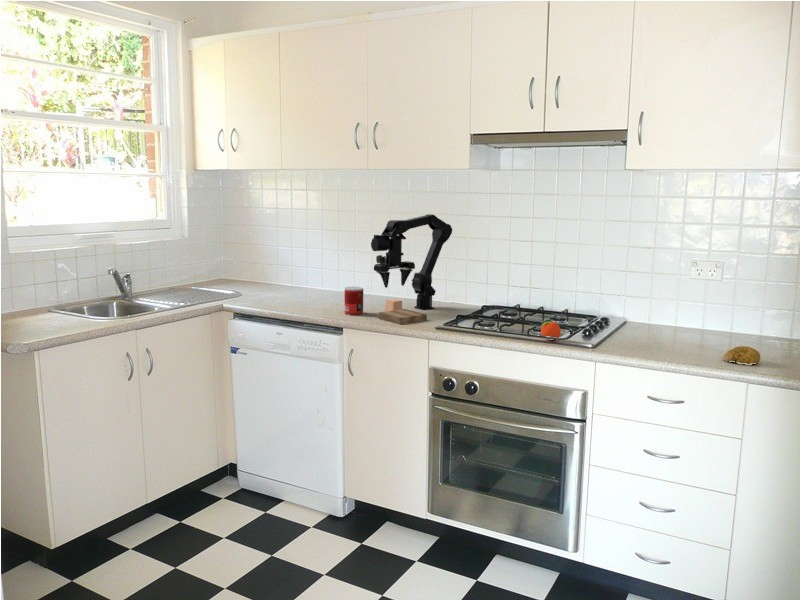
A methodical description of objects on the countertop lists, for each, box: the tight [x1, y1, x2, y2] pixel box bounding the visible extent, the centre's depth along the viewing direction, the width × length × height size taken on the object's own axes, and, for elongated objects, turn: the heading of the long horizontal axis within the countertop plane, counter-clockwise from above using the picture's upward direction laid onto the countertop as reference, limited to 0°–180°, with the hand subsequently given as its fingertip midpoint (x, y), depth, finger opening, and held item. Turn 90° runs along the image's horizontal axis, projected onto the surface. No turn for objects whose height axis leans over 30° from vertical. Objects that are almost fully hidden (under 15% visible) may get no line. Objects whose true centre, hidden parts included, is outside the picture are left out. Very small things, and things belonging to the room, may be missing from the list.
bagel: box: [722, 345, 761, 364], centre depth 216 cm, size 10×11×5 cm
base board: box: [377, 308, 428, 325], centre depth 272 cm, size 14×14×2 cm
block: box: [385, 298, 403, 312], centre depth 289 cm, size 5×5×5 cm
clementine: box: [539, 320, 562, 338], centre depth 240 cm, size 8×7×7 cm
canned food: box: [344, 286, 364, 316], centre depth 282 cm, size 8×8×11 cm
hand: (394, 286), depth 287 cm, fingers open, 9 cm apart
